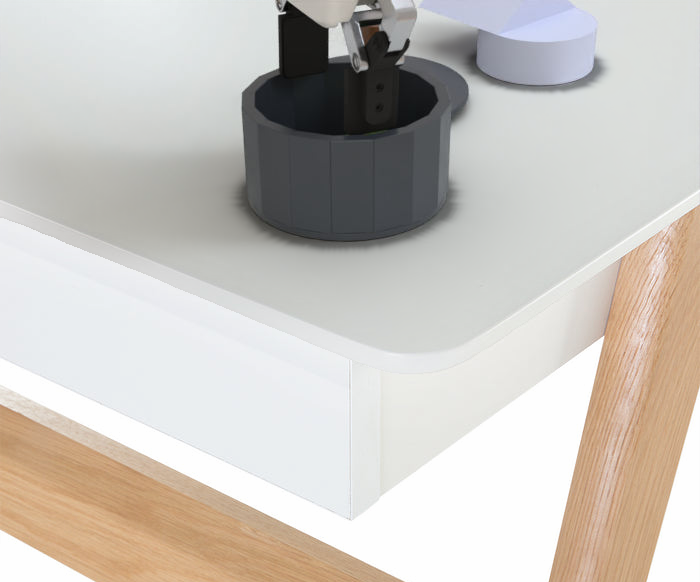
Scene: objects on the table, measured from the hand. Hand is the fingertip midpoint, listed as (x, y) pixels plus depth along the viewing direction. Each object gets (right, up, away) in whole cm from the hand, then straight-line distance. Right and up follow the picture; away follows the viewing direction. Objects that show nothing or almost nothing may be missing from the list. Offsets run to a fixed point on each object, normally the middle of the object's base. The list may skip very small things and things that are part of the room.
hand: (335, 100), depth 75 cm
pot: (+1, -5, +4) cm, 6 cm away
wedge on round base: (+14, +8, +23) cm, 28 cm away
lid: (+3, +4, +15) cm, 16 cm away
